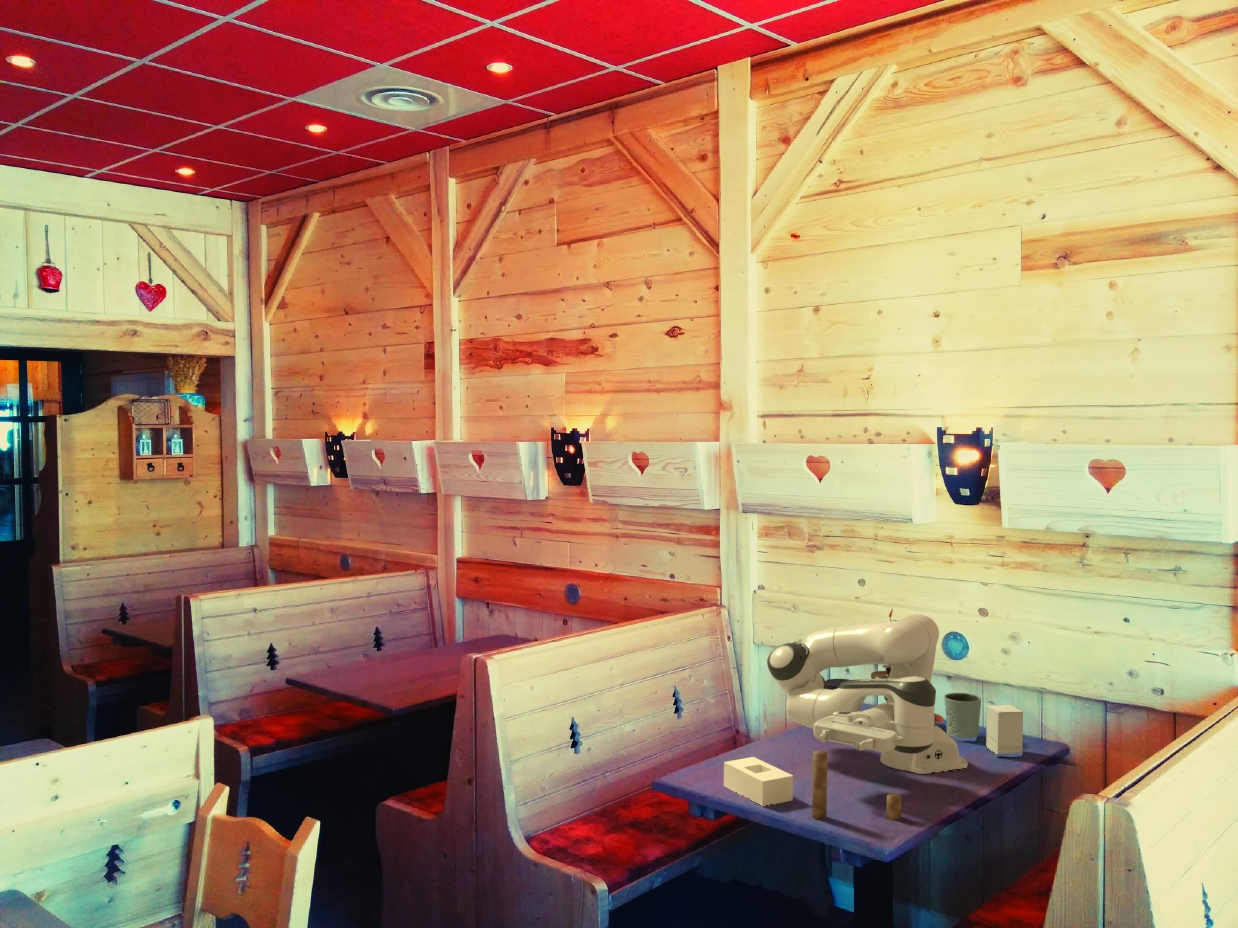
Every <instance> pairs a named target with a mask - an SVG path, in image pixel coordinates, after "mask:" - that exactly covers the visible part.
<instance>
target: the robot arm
mask: <svg viewBox="0 0 1238 928" xmlns="http://www.w3.org/2000/svg"><path fill="white" fill-rule="evenodd" d="M939 638H940V630H939V627H938V625H937V623H936V622H935V621H934V620H933V619H932V618H930V617H929V616H927V615H923V614H917V613H916V614H910V615H907V616H905V617H903V618H900V619H898V620H894V621H892V622H888V621H887V622H875V623H874V622H872V623H870V622H869V623H868V622H863V623H855V624H849V625H841V626H834V627H828V628H825V629H820V630H818V631H815V632H812V633H809V634H808V635H807V636H806V637H805V639H804V641H803V642H801V641H793V642H786V643H783V644H781V645H778V646H776V647H775V648H774V649H773V650H771V652H770V653H769V654H768V656H767V660H766V661H767V662H766V664H767V668H768V670H769V673H770V675H771V676H772V677H773V678H774V679H775V681H776V682H777V684H778V685H779V687H780V688H781V690H783V691H784V692H785V693H786V695H788V696H787V699H786V704H785V706H786V708H785V709H786V713H787V715H788V717H789V718H790V719H791V720H792V721H794V722H795V723H797V724H799V725H802V726H804V727H807V728H810V729H813V737H814V738H816V739H817V740H819V742H820V743H824V744H826V743H829V742H832V743H837V744H843V745H848V746H851V747H855V750H856V751H857V750H858V751H865V750H872V751H876V752H880V753H881V755H880V758H879V760H880V762H881V763H882V764H883V765H885V766H887V767H889V768H893V769H897V770H900V771H908V772H912V773H915V774H920V775H926V774H932V772H935V773H942V772H941V771H944V772H949V771H948V770H952V769H961V768H967V766H968V764H969V763H968V761H967V760H966V759H965V758H964V757H962V755H959V754H960V753H959V748H958V744H957V741H954V739H953V738H951V737H950V736H949V735H948V734H947V732H946V731H944V730H943V729H942V728H941V727H939V726H938V725H937V724H942V723H943V722H944V720H945V719H944V717H943V715H941V714H938V713H935V704H936V697H937V696H936V695H937V694H936V693H937V690H936V688H935V687H934V685H933V684H932V675H933V671H934V665H935V658H936V653H937V652H936V651H937V644H938V641H939ZM886 664H892V667H891V672H890V675H889V677H888V679H872V678H860V679H859V678H858V679H849V681H845V682H843V683H841V684H840V686H839V687H838V688H837V689H834V690H829V689H827V684H826V682H825V681H826V680H825V678H824V676H823V675H822V674H821V672H823V671H825V670H828V669H830V668H843V667H846V668H847V667H855V666H863V665H864V666H865V665H886ZM885 695H887V703H886V702H884V703H879V704H876V705H873V706H871V707H869V708H868V709H865V710H862V711H861V709H862V706H863V704H864V702H865V700H866V698H867V697H868V696H870V697H871V696H874V697H875V696H877V697H878V696H883V697H884V696H885ZM968 767H969V766H968ZM967 769H968V768H967ZM961 770H962V769H961Z"/></svg>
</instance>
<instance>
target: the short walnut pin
mask: <svg viewBox="0 0 1238 928" xmlns="http://www.w3.org/2000/svg"><path fill="white" fill-rule="evenodd" d="M886 818H887V819H888V820H891V821H900V820H901V818H902V796H901V795H900V794H898V793H888V794H886Z"/></svg>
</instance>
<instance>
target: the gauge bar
mask: <svg viewBox="0 0 1238 928" xmlns="http://www.w3.org/2000/svg"><path fill="white" fill-rule="evenodd" d="M723 787H725V788H726V789H728V790H730V791H732V792H734V793H736V792H737V793H736V794H737V795H740V796H742V795H743V796H744V798H745V797H746V798H745V799H747V798H749V799H750V801H751V800H752V801H751V802H753V801H754V802H753V803H755V802H756V803H758V804H760V805H761V806H760V805H759V806H760V807H762V806H763V807H767V806H766V805H768V806H771V805H770V804H773V805H778V804H781V803H786V802H791V801H793V800H794V798H793V797H794V775H793V774H791V773H788V772H787V771H785V770H782V769H780V768H778V767H776V766H774V765H771V764H770V763H767V762H765V761H763V760H762V759H759V758H757V757H755V756H750V757H745V758H739V759H733V760H728V761H724V762H723ZM743 796H742V797H743ZM749 799H748V800H749ZM756 803H755V804H756ZM777 803H778V804H777ZM758 804H757V805H758Z"/></svg>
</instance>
